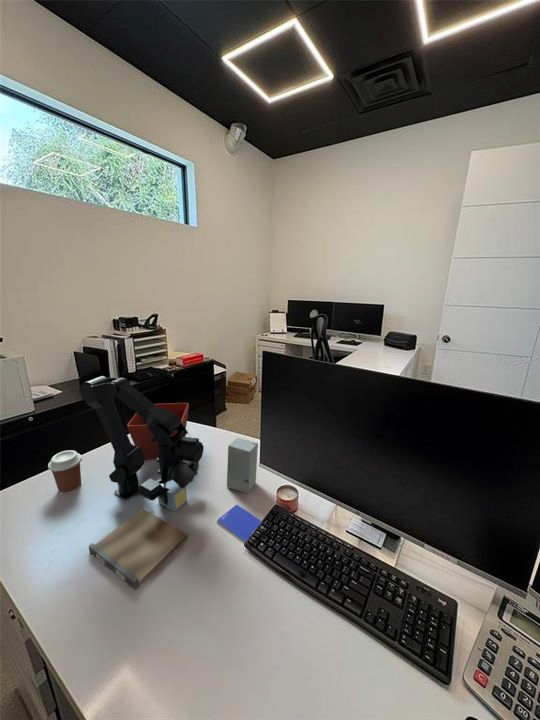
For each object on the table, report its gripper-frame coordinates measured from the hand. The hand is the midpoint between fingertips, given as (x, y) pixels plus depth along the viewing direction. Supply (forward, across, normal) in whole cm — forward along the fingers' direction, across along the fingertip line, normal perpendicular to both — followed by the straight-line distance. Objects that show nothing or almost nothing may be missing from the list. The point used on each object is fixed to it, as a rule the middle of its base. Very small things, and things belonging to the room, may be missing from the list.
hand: (172, 498), depth 93 cm
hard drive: (+2, +4, -24) cm, 24 cm away
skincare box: (+2, +18, -14) cm, 23 cm away
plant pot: (+2, +18, +25) cm, 31 cm away
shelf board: (+1, -15, -5) cm, 16 cm away
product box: (+1, 0, 0) cm, 1 cm away
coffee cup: (+1, -13, +34) cm, 36 cm away
